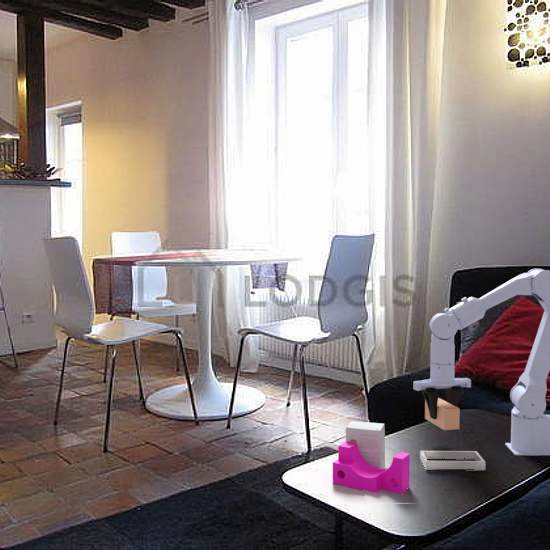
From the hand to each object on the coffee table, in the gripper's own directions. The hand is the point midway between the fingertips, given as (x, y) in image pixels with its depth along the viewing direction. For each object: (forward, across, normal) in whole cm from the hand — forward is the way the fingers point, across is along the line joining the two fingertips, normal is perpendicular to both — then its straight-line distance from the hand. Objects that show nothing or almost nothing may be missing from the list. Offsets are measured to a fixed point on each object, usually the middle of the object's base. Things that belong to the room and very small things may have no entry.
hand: (441, 417), depth 158 cm
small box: (+9, +23, +8) cm, 26 cm away
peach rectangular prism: (+2, 0, 0) cm, 2 cm away
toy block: (+9, +25, +16) cm, 31 cm away
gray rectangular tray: (+8, +3, +10) cm, 14 cm away
